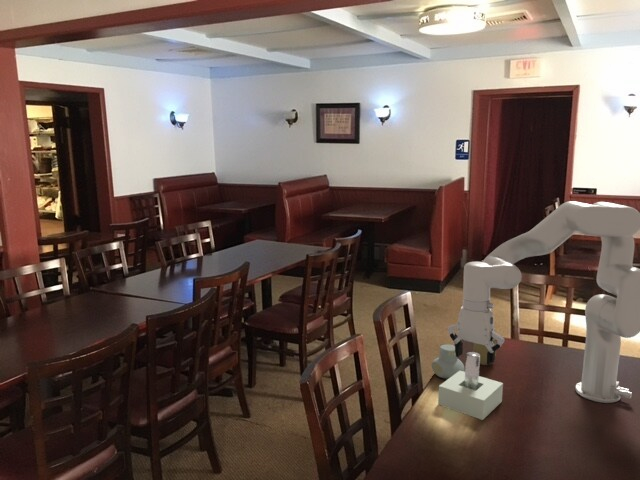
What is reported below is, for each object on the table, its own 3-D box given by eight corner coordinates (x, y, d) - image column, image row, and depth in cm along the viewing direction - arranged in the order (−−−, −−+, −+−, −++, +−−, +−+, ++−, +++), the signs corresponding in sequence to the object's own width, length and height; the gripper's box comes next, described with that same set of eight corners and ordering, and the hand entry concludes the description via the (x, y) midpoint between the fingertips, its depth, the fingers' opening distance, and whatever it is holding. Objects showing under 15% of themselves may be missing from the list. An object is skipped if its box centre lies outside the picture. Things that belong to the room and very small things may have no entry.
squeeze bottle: (497, 367, 187) (500, 318, 184) (472, 366, 189) (475, 316, 185) (494, 358, 195) (497, 310, 191) (471, 356, 196) (474, 309, 193)
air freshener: (467, 380, 178) (469, 351, 176) (445, 384, 175) (447, 355, 173) (449, 367, 188) (450, 340, 186) (428, 370, 185) (429, 343, 183)
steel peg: (479, 398, 163) (482, 354, 160) (474, 403, 160) (476, 358, 157) (467, 394, 165) (469, 350, 162) (461, 398, 162) (463, 355, 159)
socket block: (501, 401, 164) (503, 383, 162) (482, 420, 153) (483, 400, 152) (458, 387, 172) (459, 370, 171) (438, 404, 162) (438, 385, 161)
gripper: (510, 306, 154) (507, 362, 157) (454, 296, 165) (453, 348, 168) (500, 313, 148) (497, 371, 152) (442, 302, 159) (441, 356, 163)
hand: (474, 359), depth 160 cm, fingers open, 9 cm apart
